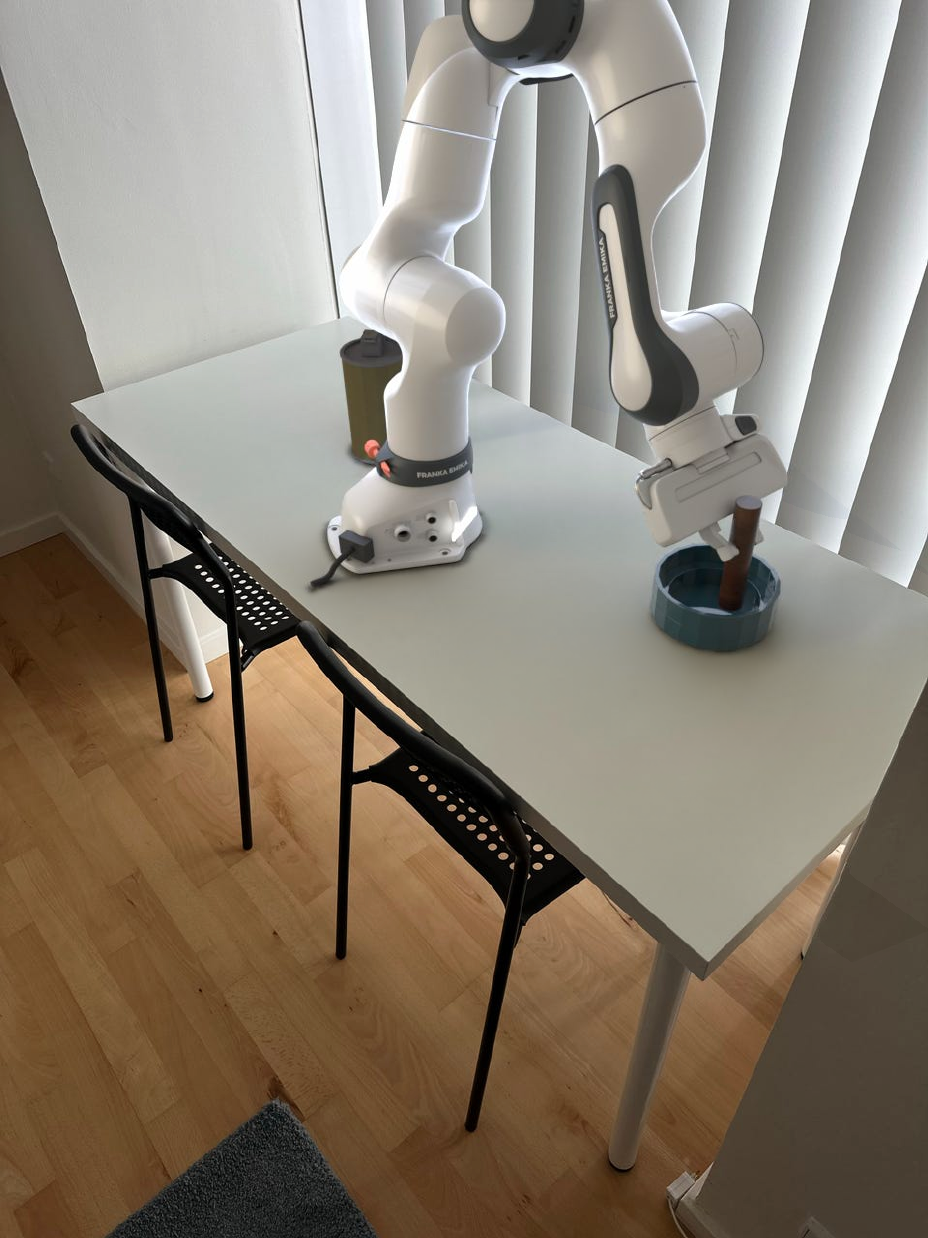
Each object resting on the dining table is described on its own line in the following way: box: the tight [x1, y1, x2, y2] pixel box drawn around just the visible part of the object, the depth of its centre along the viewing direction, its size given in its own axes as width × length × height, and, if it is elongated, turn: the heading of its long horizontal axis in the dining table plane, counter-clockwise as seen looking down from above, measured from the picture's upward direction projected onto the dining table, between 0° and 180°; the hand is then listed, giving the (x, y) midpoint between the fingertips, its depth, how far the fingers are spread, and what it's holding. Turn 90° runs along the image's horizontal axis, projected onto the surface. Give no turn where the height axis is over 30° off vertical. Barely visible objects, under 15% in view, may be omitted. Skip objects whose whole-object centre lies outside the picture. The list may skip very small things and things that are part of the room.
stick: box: [718, 495, 763, 611], centre depth 113 cm, size 3×3×15 cm
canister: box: [339, 328, 403, 466], centre depth 150 cm, size 11×10×20 cm
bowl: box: [649, 542, 782, 652], centre depth 119 cm, size 15×15×6 cm
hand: (744, 551), depth 112 cm, fingers closed on stick, 3 cm apart
